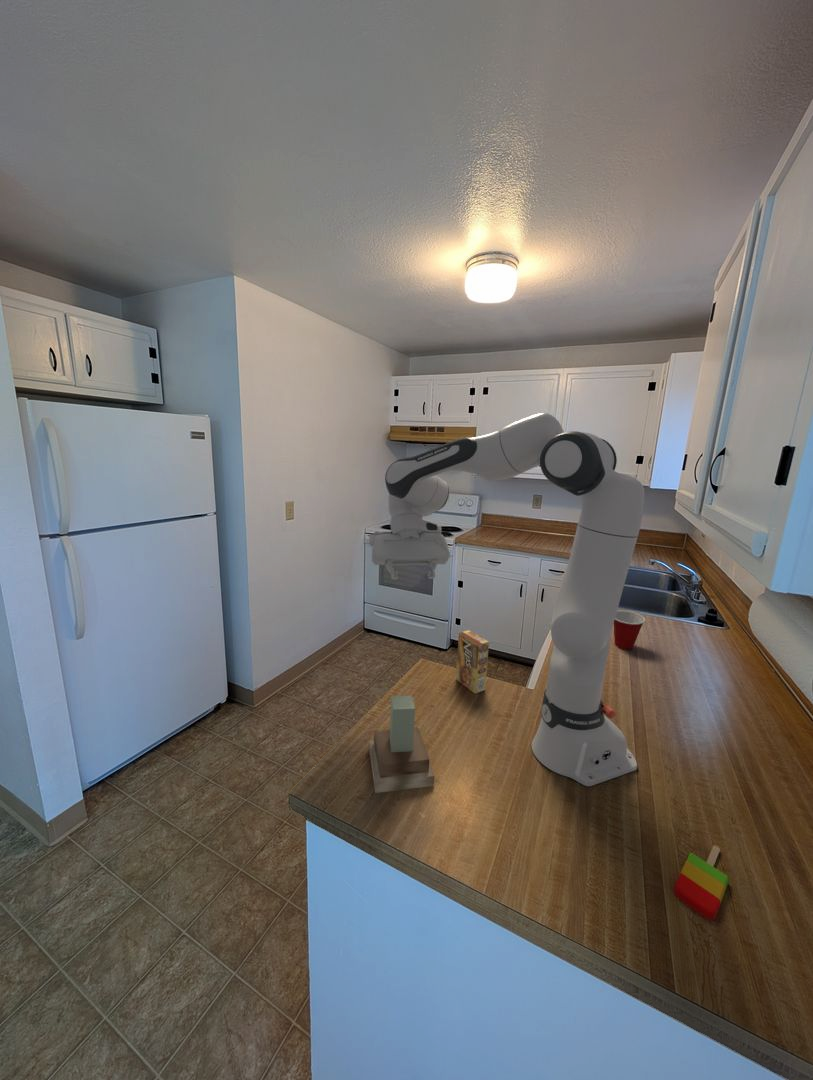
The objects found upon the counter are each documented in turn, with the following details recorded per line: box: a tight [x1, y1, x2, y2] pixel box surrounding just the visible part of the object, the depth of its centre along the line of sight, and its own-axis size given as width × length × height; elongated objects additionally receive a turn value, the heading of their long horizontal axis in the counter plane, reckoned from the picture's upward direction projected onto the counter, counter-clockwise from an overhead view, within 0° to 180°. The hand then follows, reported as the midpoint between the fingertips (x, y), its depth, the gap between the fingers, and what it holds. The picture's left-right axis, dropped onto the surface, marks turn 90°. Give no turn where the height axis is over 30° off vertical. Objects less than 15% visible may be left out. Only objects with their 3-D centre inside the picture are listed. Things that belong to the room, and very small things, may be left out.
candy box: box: [455, 629, 490, 695], centre depth 118 cm, size 9×4×15 cm, turn 34°
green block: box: [389, 695, 416, 752], centre depth 86 cm, size 4×4×10 cm
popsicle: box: [673, 844, 730, 921], centre depth 67 cm, size 6×15×2 cm, turn 131°
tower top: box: [373, 726, 430, 778], centre depth 87 cm, size 10×10×3 cm
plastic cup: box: [613, 610, 646, 651], centre depth 147 cm, size 11×11×12 cm
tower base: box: [368, 740, 435, 794], centre depth 87 cm, size 12×12×3 cm
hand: (413, 578), depth 102 cm, fingers open, 8 cm apart
